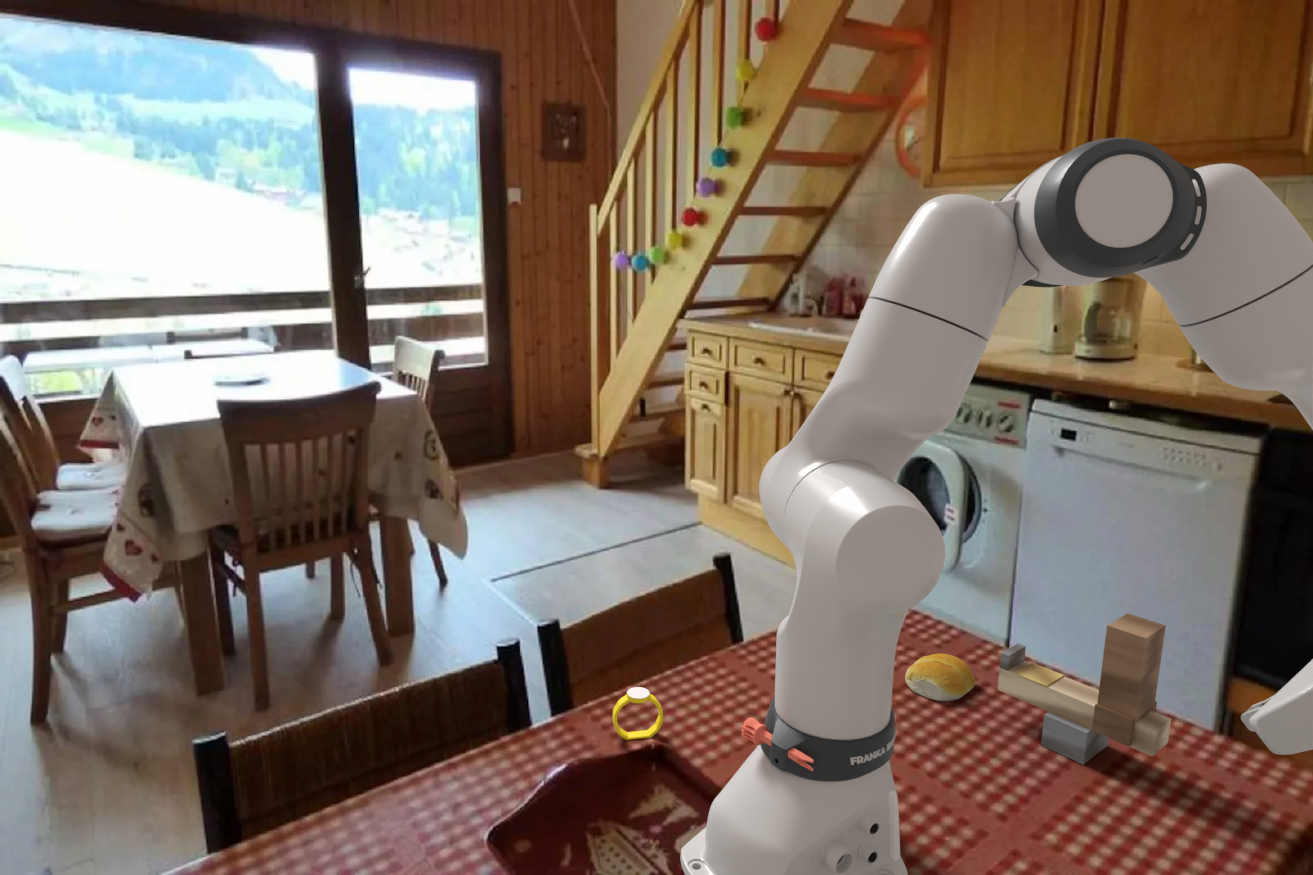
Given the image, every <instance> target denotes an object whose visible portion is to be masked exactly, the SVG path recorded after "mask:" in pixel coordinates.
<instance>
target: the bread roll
mask: <svg viewBox="0 0 1313 875" xmlns="http://www.w3.org/2000/svg"><path fill="white" fill-rule="evenodd" d="M904 677H905V678H904V680H905V683H906V685H907V686H908V688H909V689H910V690H911V691H912V692H914V693H916V694H918V695H920V696H922V697H924V698H927V699H930V700H934V701H938V702H949V701H957V700H959V699H961V698H963V697H964V696H965V695H966V694H967V693H969V692H970V691H971V690H973V689H974V687H975V685H976V677H975V674H974V672H973V670H972V669H971V667H970V666H969V664H967V663H966V662H965V661H964V660H962V659H961V658H959V657H957V656H955V655H952V654H949V653H948V654H947V653H932V654H930V655H925V656H922V657H920V658H919V659H917V660H916V661H915V662H914V663H913V664H912V665H909V667H908V668H907V669H906V672H905V675H904Z"/></svg>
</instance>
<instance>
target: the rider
mask: <svg viewBox="0 0 1313 875" xmlns="http://www.w3.org/2000/svg"><path fill="white" fill-rule="evenodd" d="M1166 627H1167V626H1166V624H1163V623H1159V622H1156V621H1153V620H1150V619H1148V618H1143V617H1141V616H1137V615H1135V614H1134V615H1133V614H1132V613H1126V614H1124V615H1123V616H1121V617H1119V618H1117V619H1115V620H1114V621H1112V622H1110V623H1109V624H1107V625H1106V632H1105V638H1104V639H1105V640H1104V646H1103V647H1104V648H1103V653H1102V654H1103V655H1102V665H1101V672H1100V680H1099V688H1098V690H1099V695H1098V703H1097V704H1096V705H1095V708H1094V716H1093V724H1092V731H1093V732H1096V733H1098V734H1100V735H1103V736H1105V737H1107V738H1109V740H1113V741H1115V742H1116V743H1117V742H1118V743H1120V744H1122V745H1123V746H1126V747H1129V746H1131V745H1132V742H1133V734H1134V727H1135V722H1137V721H1138V720H1139V719H1141V718H1142V717H1143V716H1144V715H1146V714H1147V713H1148V712H1150V711H1153V712H1156V713H1157V704H1158V701H1157V700H1156V697H1157V689H1158V685H1159V684H1158V683H1159V676H1160V668H1161V661H1162V655H1163V648H1164V640H1165V632H1166Z"/></svg>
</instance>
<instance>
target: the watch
mask: <svg viewBox="0 0 1313 875" xmlns="http://www.w3.org/2000/svg"><path fill="white" fill-rule="evenodd" d="M649 690H650V689H647V688H645V687H640V686H634V687H631V688H628V689H627V691H626V694H625V695H624V696H622V697H620V698H619V699H618V701H617V702H616V703H615V705H614V707H613V709H612V723H613V727H614V730H616V732H617V735H618V736H619V737H621V738H623V739H625V740H626V741H632V740H638V739H651V738H652V737H654V736H655V735H656V734H657V733H658V732H659V731H660V729H661V727H662V724H663V723H664V712H663V711H664V710H663V708H662V704H661V702H659V700H658V699H657V697H656V696H655V695H653V694H651V692H650V691H649ZM646 702H650V703H652V704H654V705H655V707H656V709H657V712H658V715H657V718H656V720H655V722H654V723H653V724H652V725H651V726H650V727H649V728H648V729H645V730H636V731H626V730H625V729H623V728H622V727H621V726H620V725H619V722H618V715H619V713H620V712H621V710H622V708H623V707H624V706H625V705H627V704H629V703H632V704H644V703H646Z"/></svg>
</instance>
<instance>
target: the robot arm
mask: <svg viewBox="0 0 1313 875" xmlns="http://www.w3.org/2000/svg"><path fill="white" fill-rule="evenodd" d="M1130 274H1135V275H1137V276H1138V277H1141V278H1142V279H1143V280H1145V281H1146V282H1147V283H1148V284H1149V285H1150V286H1152V287H1153V289H1154V290H1155V291H1156V292H1157V293H1158V294H1160V296H1161V298H1162V300H1163V301H1164V303H1165V305H1166V307H1167V309H1168V311H1169V313H1170V314H1171V317H1173V319H1174V321H1175V322H1176V324H1177V326H1178V327H1179V330H1181V332H1182V334H1183V335H1184V337H1185V339H1187V342H1188V343H1189V344H1190V346H1191V348H1192V349H1193V350H1194V351H1195V352H1196V354H1197V355H1198V357H1200V358H1201V360H1202V362H1204V364H1206V366H1208V367H1209V369H1211V371H1213V372H1214V373H1215V374H1216V376H1217V377H1219V379H1221V380H1222V381H1223V382H1224V383H1226V384H1228V385H1231V386H1232V387H1233V386H1234V387H1236V388H1238V389H1239V388H1240V389H1244V390H1248V391H1257V392H1258V391H1259V392H1271V391H1272V392H1273V391H1276V392H1278V393H1281V394H1282V395H1284V397H1286V398H1287V399H1288V400H1290V401H1291V403H1293V405H1294V406H1295V407H1296V408H1297V410H1298V411H1299V413H1300V414H1301V415H1302V417H1303V419H1304V420H1305V422H1306V423H1307V424H1308V425H1309V427H1310V428H1311V430H1312V431H1313V240H1312V238H1311V237H1310V236H1309V234H1308V233H1307V232H1306V230H1305V229H1304V228H1303V226H1302V225H1301V224H1300V222H1299V221H1298V220H1297V218H1296V217H1295V216H1294V215H1293V213H1292V212H1291V211H1290V210H1289V209H1288V207H1287V206H1286V205H1285V204H1284V202H1282V200H1280V199H1279V197H1278V196H1277V195H1276V194H1275V193H1274V192H1273V191H1272V189H1270V188H1269V187H1268V186H1267V185H1266V184H1265V183H1264V182H1263V181H1262V180H1261V179H1260V178H1259V177H1258V176H1257V175H1256V174H1255V173H1254V172H1252V171H1251V170H1250V169H1248V168H1246V167H1244V166H1242V165H1239V164H1235V163H1226V162H1225V163H1224V162H1223V163H1215V164H1208V165H1203V166H1199V167H1197V168H1191V167H1189V166H1187V165H1185V164H1183V163H1181V162H1178V161H1177V160H1175V159H1174V158H1173V157H1172V156H1170V154H1168V153H1167V152H1165V151H1164V150H1162V149H1160V148H1159V147H1157V146H1155V145H1153V144H1150V143H1148V142H1145V141H1143V140H1139V139H1135V138H1129V137H1107V138H1101V139H1096V140H1093V141H1089V142H1085V143H1083V144H1080V145H1079V146H1076V147H1075V148H1072V149H1071V150H1069V151H1068V152H1067V153H1065V154H1063V155H1061V156H1058V157H1056V158H1053V159H1051V160H1049V161H1047V162H1046V163H1044V164H1042V165H1041V166H1040V167H1038V168H1036V169H1035V170H1034V171H1033V172H1032V173H1030V174H1029V175H1028V176H1026V178H1024V179H1023V180H1021V182H1019V183H1018V184H1016V185H1015V186H1014V187H1013V188H1011V189H1010V190H1008V191H1007V192H1006V193H1005V194H1004V195H1003V196H1002V197H1000V198H999V199H998V200H995V201H994V200H991V201H990V200H988V199H985V198H983V197H980V196H977V195H973V194H964V193H950V194H944V195H939V196H935V197H933V198H932V199H929V200H928V201H926V202H924V203H923V204H922V205H920V206H919V208H917V210H916V211H915V213H914V214H913V216H912V217H911V219H910V220H909V222H908V223H907V225H906V226H905V227H904V229H903V231H902V232H901V234H900V236H899V237H898V238H897V240H896V242H895V244H894V245H893V247H892V249H891V250H890V253H889V254H888V255H887V258H886V260H885V261H884V263H883V265H882V267H881V270H880V271H879V273H878V275H877V278H876V280H875V282H874V284H873V287H872V288H871V290H870V293H869V295H868V298H867V300H866V301H865V304H864V307H863V309H862V311H861V314H860V316H859V319H858V321H857V323H856V325H855V327H854V330H853V332H852V334H851V337H850V339H849V341H848V343H847V345H846V348H845V350H844V352H843V355H842V357H841V360H840V362H839V365H838V367H837V369H836V371H835V373H834V374H833V376H832V379H831V380H830V382H829V384H828V386H827V387H826V389H825V390H824V392H823V393H822V395H821V397H820V398H819V400H818V401H817V402H816V405H814V407H813V409H812V410H811V412H810V413H809V414H808V416H807V418H805V420H804V422H803V423H802V425H801V426H800V428H799V429H798V431H797V432H796V434H794V436H793V438H792V439H791V441H790V442H789V443H788V445H786V446H784V447H782V448H781V449H779V450H778V451H776V453H775V454H774V455H773V456H771V457H770V459H769V460H768V461H767V462H766V464H765V465H764V468H763V470H762V472H761V475H760V478H759V486H758V493H759V500H760V504H761V507H762V511H763V515H764V517H765V520H766V524H768V526H769V528H770V530H771V531H772V533H773V534H774V535H775V536H776V537H777V538H778V540H780V542H782V544H783V545H784V546H785V547H786V548H787V549H788V550H789V551H790V553H791V556H792V557H793V558H792V559H793V561H794V564H795V570H796V586H795V592H794V596H793V600H792V603H791V607H790V610H789V612H788V615H787V616H786V617H784V619H783V620H782V621H781V622H780V623H779V626H778V627H777V632H776V642H775V643H776V645H775V648H776V649H775V672H774V673H775V677H774V679H775V680H774V696H773V697H772V699H771V700H770V704H769V707H768V709H767V713H766V716H765V720H764V723H763V724H762V723H760V722H759V721H758V720H757V719H756V718H754V717H748V718H747V719H746V720H744V722H743V724H742V725H741V730H740V732H741V736H742V737H743V738H744V739H746V740H749V741H751V742H752V743H754V744H753V745H756V748H755V749H754V750H753V751H752V752H751V753H750V755H749V756H748V757H747V758H746V760H744V762H743V763H742V765H741V766H740V767H739V768H738V770H737V771H736V772H735V773H734V775H733V776H732V777H731V778H730V780H729V781H728V782H727V783H726V784H725V786H724V787H723V788H722V789H721V791H720V792H719V793H718V794H717V795H716V797H715V798H714V799H713V801H712V803H711V805H710V808H709V811H708V815H707V820H706V821H707V822H706V826H705V827H704V828H703V829H702V830H700V831H699V832H698V833H697V834H696V835H695V836H694V837H693V838H691V839H690V840H688V842H687V843H686V844H684V845H683V846H682V848H681V849H680V857H679V858H680V864H681V869H682V871H683V872H684V875H908V869H907V867H906V865H905V862H904V861H903V858H902V856H901V842H900V836H901V835H900V818H899V817H900V815H899V812H900V811H899V798H898V793H897V789H896V785H895V781H894V778H893V773H892V767H891V763H890V762H891V761H890V759H891V758H892V756H893V753H894V746H895V745H894V744H895V740H896V734H897V733H896V732H897V731H896V730H897V729H896V727H895V726H896V725H895V713H894V710H893V708H892V700H893V699H892V698H893V686H894V674H895V673H894V670H895V662H896V660H895V658H896V651H897V644H898V640H899V635H900V634H901V629H902V627H903V624H904V622H905V619H906V617H907V614H908V611H909V609H911V608H913V607H914V606H916V605H918V604H919V603H921V602H922V601H923V600H924V599H925V598H926V597H927V596H929V595H930V594H931V592H932V591H933V589H934V588H935V586H936V585H937V583H938V581H939V580H940V577H941V575H942V574H943V571H944V566H945V561H946V546H945V540H944V539H945V538H944V537H943V534H942V532H941V530H940V529H941V528H939V525H938V524H937V523H936V521H935V519H934V518H933V517H932V516H931V514H930V513H929V511H928V510H927V509H926V507H925V506H924V505H923V504H922V502H921V501H920V500H919V499H918V498H917V497H916V495H915V494H914V493H913V492H912V491H910V490H909V489H907V488H906V487H904V486H902V485H901V484H900V483H898V482H896V481H895V480H896V478H897V476H898V474H899V473H900V471H901V470H902V469H903V467H904V466H905V465H906V464H907V462H908V461H909V460H910V458H912V456H913V455H914V454H915V453H916V451H917V450H918V449H919V448H920V447H921V446H922V445H923V444H924V443H925V442H927V440H929V439H930V438H931V437H933V436H936V435H938V434H939V433H941V432H943V431H944V430H946V429H947V428H948V427H949V426H950V424H951V423H952V422H953V421H954V419H955V417H956V415H957V413H958V411H959V408H960V407H961V404H962V402H963V399H964V397H965V395H966V392H967V391H968V389H969V386H970V384H971V381H972V380H973V377H974V375H975V373H976V371H977V368H978V366H979V364H980V362H981V359H982V357H983V354H984V353H985V350H986V348H987V346H988V343H989V341H990V339H991V337H992V334H993V332H994V330H995V327H996V325H997V322H998V320H999V317H1000V315H1001V311H1002V309H1003V308H1004V307H1005V306H1006V305H1007V302H1008V301H1009V300H1010V298H1011V297H1012V295H1014V293H1015V292H1016V291H1017V290H1018V289H1019V288H1020V287H1021V286H1025V287H1033V288H1034V287H1036V288H1059V287H1063V286H1064V287H1065V286H1068V287H1080V286H1081V287H1083V286H1087V285H1088V286H1089V285H1092V284H1095V283H1100V282H1103V281H1105V280H1109V279H1111V278H1115V277H1122V276H1127V275H1130ZM1240 720H1241V722H1242V723H1243V724H1244V726H1245V727H1246V729H1247V730H1249V731H1250V732H1255V733H1256V734H1257V735H1258V737H1259V738H1260V740H1261V741H1262V742H1263V744H1264V745H1265V746H1266V747H1267V748H1268V750H1269V751H1270V752H1271V753H1272V754H1275V755H1282V756H1283V755H1285V756H1287V755H1295V754H1298V753H1300V754H1301V753H1303V752H1307V751H1313V658H1312V659H1311V660H1310V661H1309V662H1308V663H1307V664H1306V665H1305V666H1303V668H1302V669H1301V670H1300V671H1298V673H1296V674H1295V675H1294V676H1293V677H1292V678H1291V679H1290V680H1289V681H1288V682H1287V683H1286V684H1285V685H1284V686H1282V687H1281V689H1279V690H1278V691H1277V692H1276V693H1275V694H1274V695H1271V696H1270V697H1268V698H1266V699H1265V700H1263V701H1259V702H1257V703H1254V704H1252V705H1251V706H1250V707H1249V708H1248V709H1247V710H1246V711H1244V712H1243V713H1242V714H1241V715H1240Z"/></svg>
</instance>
